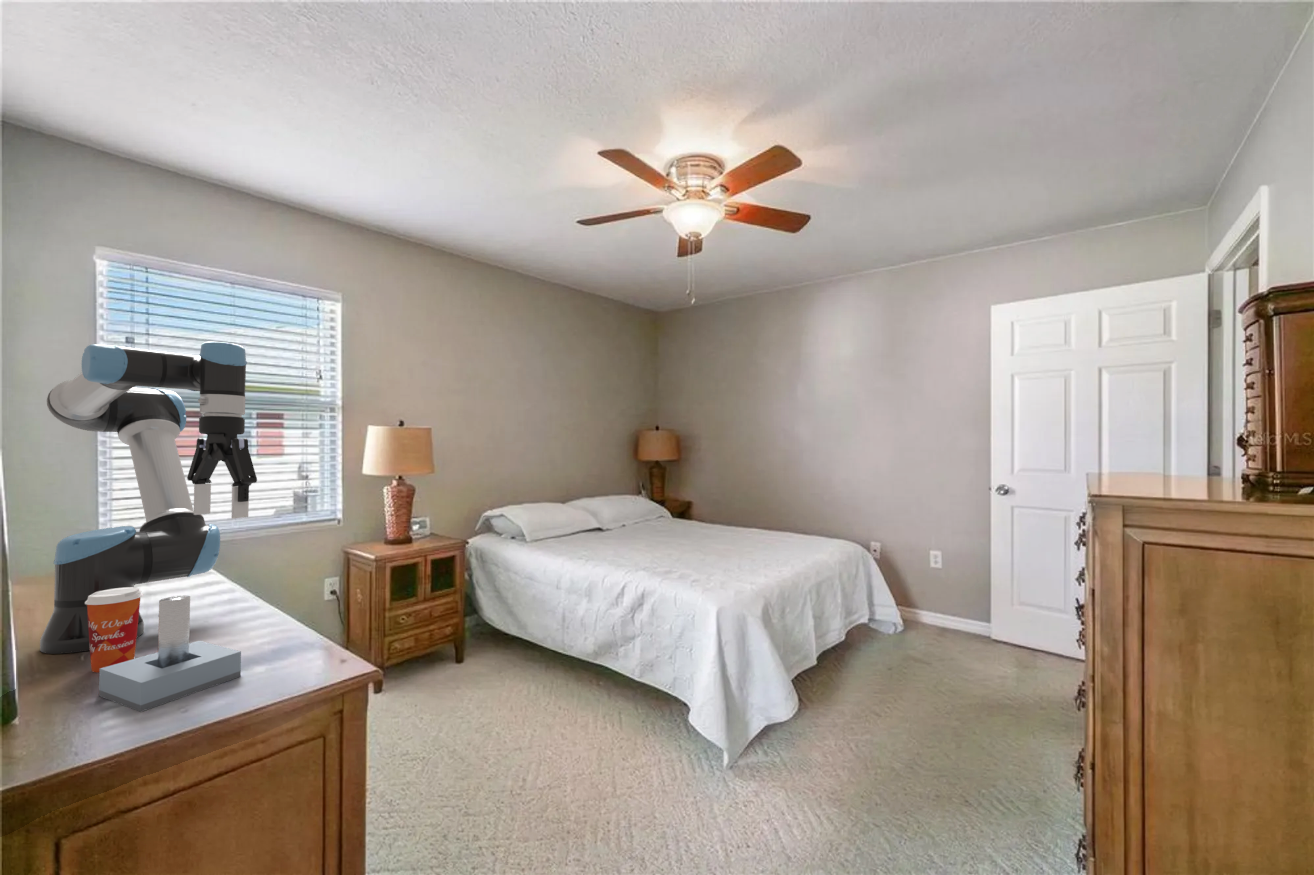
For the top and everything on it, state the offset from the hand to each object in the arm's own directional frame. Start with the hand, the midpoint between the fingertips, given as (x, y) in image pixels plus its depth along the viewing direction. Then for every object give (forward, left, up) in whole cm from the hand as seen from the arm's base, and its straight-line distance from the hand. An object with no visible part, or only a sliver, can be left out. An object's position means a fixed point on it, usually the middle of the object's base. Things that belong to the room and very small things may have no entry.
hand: (220, 516), depth 113 cm
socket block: (+16, -15, -27) cm, 35 cm away
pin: (+16, -15, -26) cm, 34 cm away
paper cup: (-4, -15, -27) cm, 31 cm away
